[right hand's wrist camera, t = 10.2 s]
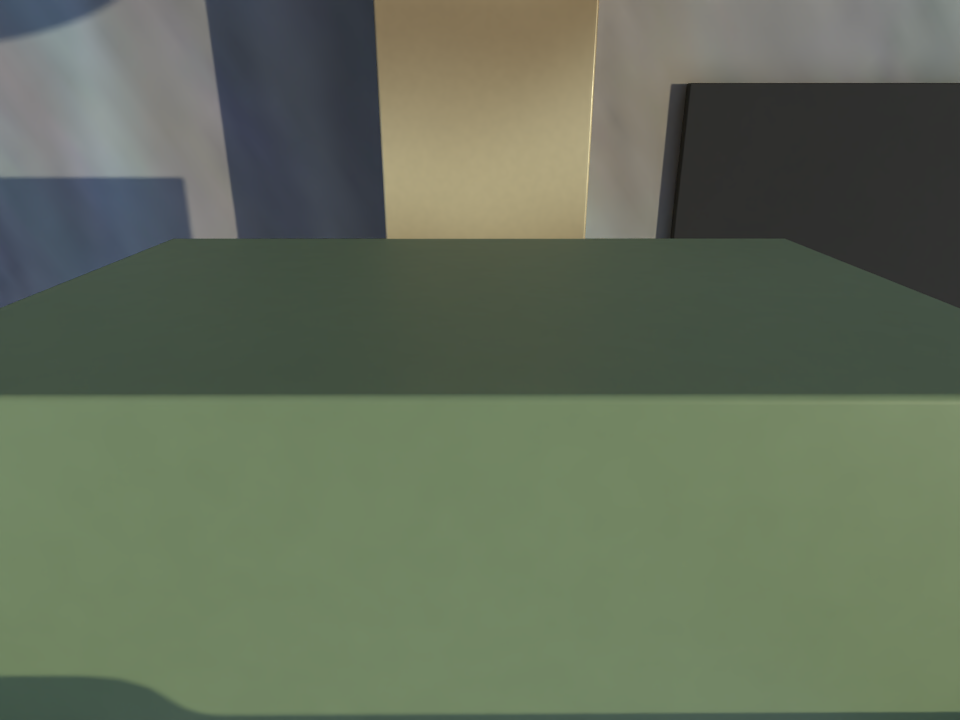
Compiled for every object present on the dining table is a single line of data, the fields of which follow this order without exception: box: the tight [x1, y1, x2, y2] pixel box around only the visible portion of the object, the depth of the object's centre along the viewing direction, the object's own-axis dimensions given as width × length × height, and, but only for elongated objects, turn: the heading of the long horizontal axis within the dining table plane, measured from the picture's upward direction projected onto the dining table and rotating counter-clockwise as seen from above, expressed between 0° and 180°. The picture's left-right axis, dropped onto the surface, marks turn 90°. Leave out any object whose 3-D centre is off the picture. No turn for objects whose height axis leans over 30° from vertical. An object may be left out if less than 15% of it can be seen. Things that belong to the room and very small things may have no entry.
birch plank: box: [373, 0, 599, 239], centre depth 20 cm, size 26×6×5 cm, turn 0°
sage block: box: [0, 239, 960, 720], centre depth 10 cm, size 9×11×7 cm
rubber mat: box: [671, 83, 960, 308], centre depth 25 cm, size 14×14×1 cm
